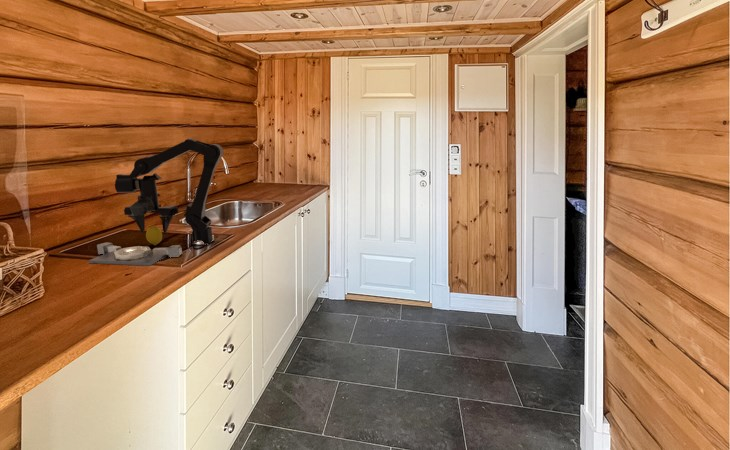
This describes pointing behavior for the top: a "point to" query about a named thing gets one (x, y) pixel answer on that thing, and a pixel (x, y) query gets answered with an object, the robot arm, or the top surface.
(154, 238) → the lemon
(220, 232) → the top surface
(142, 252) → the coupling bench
